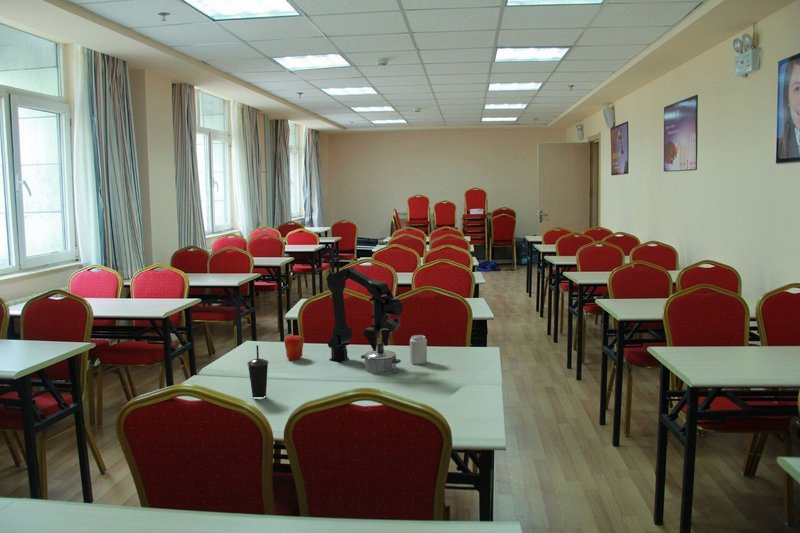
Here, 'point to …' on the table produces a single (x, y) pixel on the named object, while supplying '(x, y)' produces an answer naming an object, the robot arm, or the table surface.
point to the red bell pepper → (294, 346)
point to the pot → (380, 365)
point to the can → (418, 349)
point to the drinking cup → (258, 375)
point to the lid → (380, 353)
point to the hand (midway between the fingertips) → (380, 348)
